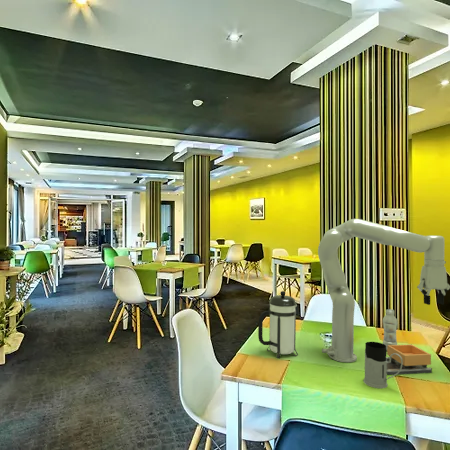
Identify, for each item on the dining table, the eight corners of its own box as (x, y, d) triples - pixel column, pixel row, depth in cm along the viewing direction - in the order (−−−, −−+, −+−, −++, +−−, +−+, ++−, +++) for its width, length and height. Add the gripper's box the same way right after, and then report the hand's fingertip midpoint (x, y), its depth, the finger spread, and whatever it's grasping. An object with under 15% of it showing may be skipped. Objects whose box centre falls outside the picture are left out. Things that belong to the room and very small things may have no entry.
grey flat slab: (387, 374, 138) (387, 370, 138) (370, 362, 151) (370, 358, 151) (431, 372, 140) (431, 368, 140) (410, 360, 153) (410, 356, 153)
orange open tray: (404, 369, 139) (404, 355, 139) (387, 358, 151) (387, 345, 151) (430, 368, 141) (431, 354, 141) (411, 357, 153) (411, 344, 153)
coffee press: (271, 345, 171) (272, 286, 171) (301, 351, 163) (302, 290, 163) (257, 356, 156) (258, 292, 156) (290, 364, 148) (291, 296, 148)
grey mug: (369, 375, 137) (369, 339, 137) (406, 388, 126) (406, 349, 127) (359, 382, 131) (359, 344, 131) (397, 396, 121) (398, 355, 121)
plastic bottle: (399, 353, 162) (399, 312, 162) (384, 352, 163) (384, 311, 163) (395, 348, 168) (395, 308, 168) (380, 347, 169) (381, 308, 169)
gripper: (445, 262, 153) (444, 301, 153) (410, 262, 150) (410, 302, 150) (458, 264, 145) (458, 305, 145) (422, 264, 143) (422, 306, 143)
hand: (433, 303), depth 148 cm, fingers open, 5 cm apart
